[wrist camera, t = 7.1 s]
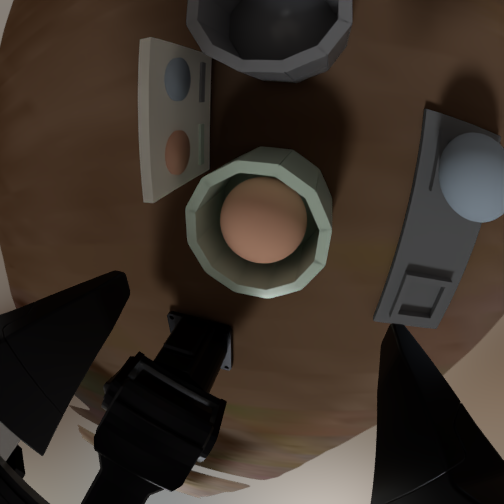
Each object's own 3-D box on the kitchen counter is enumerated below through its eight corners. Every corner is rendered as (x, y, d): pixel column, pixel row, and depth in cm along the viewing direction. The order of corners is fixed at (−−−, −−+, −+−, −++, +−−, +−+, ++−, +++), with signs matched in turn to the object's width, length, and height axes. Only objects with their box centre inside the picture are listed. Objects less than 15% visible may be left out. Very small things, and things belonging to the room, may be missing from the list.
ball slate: (480, 211, 14) (515, 245, 10) (420, 195, 15) (447, 227, 11) (495, 141, 12) (538, 157, 7) (433, 118, 13) (469, 125, 8)
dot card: (212, 169, 19) (157, 203, 13) (201, 169, 19) (143, 202, 13) (214, 55, 15) (154, 36, 9) (203, 56, 15) (139, 39, 9)
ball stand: (435, 324, 20) (437, 333, 19) (373, 316, 21) (374, 326, 20) (497, 135, 12) (505, 137, 11) (424, 108, 13) (429, 108, 12)
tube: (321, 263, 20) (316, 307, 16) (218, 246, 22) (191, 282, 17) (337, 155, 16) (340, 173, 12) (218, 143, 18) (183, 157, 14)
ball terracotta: (304, 245, 19) (297, 287, 15) (234, 234, 20) (208, 272, 16) (313, 173, 17) (309, 197, 13) (235, 165, 18) (205, 185, 14)
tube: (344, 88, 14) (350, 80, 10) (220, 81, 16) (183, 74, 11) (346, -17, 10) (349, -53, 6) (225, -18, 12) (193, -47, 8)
